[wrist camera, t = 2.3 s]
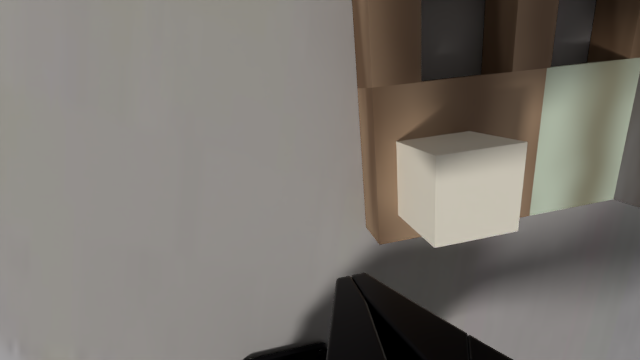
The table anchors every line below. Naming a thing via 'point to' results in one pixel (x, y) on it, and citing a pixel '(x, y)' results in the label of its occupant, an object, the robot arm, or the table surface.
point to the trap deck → (504, 103)
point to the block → (460, 186)
